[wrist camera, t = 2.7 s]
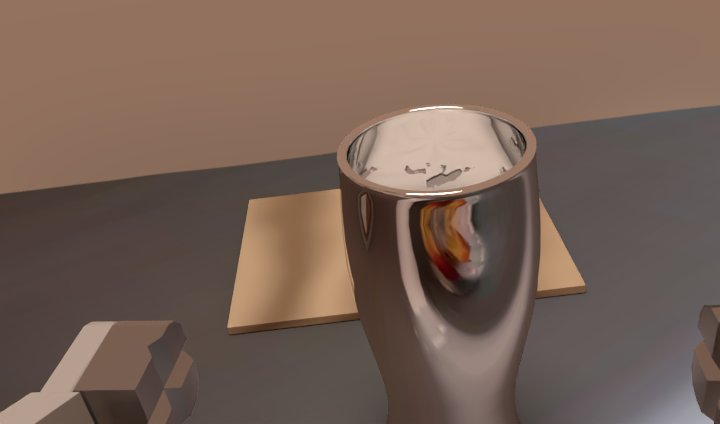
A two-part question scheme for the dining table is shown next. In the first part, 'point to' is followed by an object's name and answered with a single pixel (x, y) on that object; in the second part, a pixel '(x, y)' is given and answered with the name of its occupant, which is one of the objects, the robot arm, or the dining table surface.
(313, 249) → the placemat
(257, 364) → the dining table surface
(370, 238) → the beer glass
